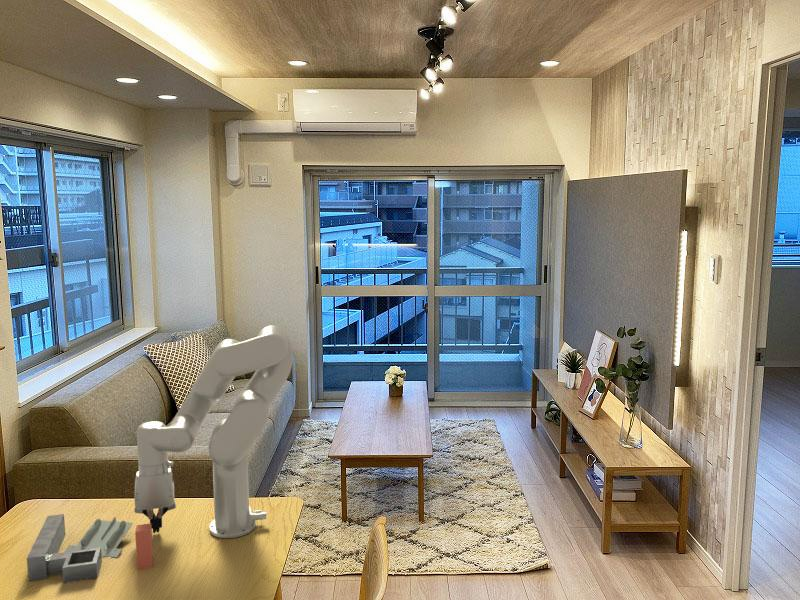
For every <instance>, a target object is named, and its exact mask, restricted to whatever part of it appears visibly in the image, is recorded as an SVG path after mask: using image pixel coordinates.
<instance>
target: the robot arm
mask: <svg viewBox="0 0 800 600" xmlns="http://www.w3.org/2000/svg"><path fill="white" fill-rule="evenodd" d="M293 350H294V349H293V345H292V342H291V340H290V337H289V336H288V334H287V333H286V331H285V330H284V329H283V328H281V327H280V326H278V325H275V324H274V325H271V324H270V325H267V326H265V327H263V328H262V329H261V330H260V331H259V332H258V333H257V335H256V337H253V338H250V339H247V340H244V341H239V340H237V339H234V338H226V339H223V340H222V341H220V342H219V343H218V344H217V346H216V347H215V348H214V350H213V352H212V353H211V354H210V357H209V358H208V360H207V361H206V363H205V365H204V367H203V368H202V369H201V371H200V372H199V373H200V374H199V375H198V377H197V378H196V380H195V381H194V383H193V384H192V386H191V388H190V392H189V393H188V395H187V396H186V398H185V399H184V401H183V403H182V404H181V406H180V408H179V410H178V411H177V412H176V414H175V416H174V418H173V420H171V423H170V425H168V426H166V424H165V423H164V422H162V421H156V420H155V421H154V420H152V421H145V422H143V423H140V425H139V426H138V427H137V429H136V440H137V441H136V442H137V460H138V461H137V465H138V471H136V473H135V480H134V512H133V513H135V514H142V515H144V516H145V517H147V519H148V520H149V524H150V523H151V527H152V534H155V533H160V528H163V516H164V515H165V514H166V513H167V512H168V511H171V510H174V509H176V508H177V503H176V501H175V499H176V498H175V497H176V495H175V494H176V491H175V483H174V482H175V481H174V480H175V479H174V475H173V471H172V468H171V467H174V465H175V464H174V461H173V460H172V461H170V459H169V456H168V452H169V453H176V454H177V453H185V452H187V451H189V450H190V449H191V448H192V447H193V445H194V443H195V440H196V437H197V434H198V431H199V429H200V428H201V425H202V424H203V423H204V421H205V419H206V417H207V416H208V414H209V413H210V411H211V410H212V409H213V407H214V406H215V405H216V404H217V403H219V402H220V401H221V400H222V399H223V398H224V396H225V395H226V393H227V392H228V389H229V387H230V386H231V384H232V382H233V381H234V380H235V378H236V377H239V376H243V375H247V374H249V373H253V372H254V373H253V375H252V376H251V378H250V379H249V381H248V382H247V384H246V385H245V386H244V388H243V389H242V390H241V391H240V393H239V394H238V395H237V397H236V398H235V399H234V403H233V407H232V410H231V412H230V413H229V415H228V416H227V417H226V418H223V419H221V420H220V421H217V422H216V424H215V426H214V427H213V429H212V432H211V435H210V439H209V440H210V441H209V444H208V455H209V458H210V459H211V461H212V484H213V485H212V486H213V506H214V520H212V521H211V522H210V523H209V532H210V534H211V535H213V537H217V538H221V539H236V538H239V537H242V536H245V535H248V534H249V533H251V532H252V531H253V530H254V529H255V528H256V521H262V520H267V512H266V511H265V512H264V511H263V512H262V509H257V510H253V509H251V505H250V493H249V492H250V488H249V487H250V485H249V456H248V455H249V454H248V453H249V450H250V449H251V447H252V446H253V444H254V443H255V441H256V440H257V439H258V437H259V436H260V434H261V433H262V432H263V430H264V428H265V426H266V425H267V423H268V420H269V415H270V408H271V405H272V403H273V402H274V400H275V399H276V397H277V396H278V394H279V392H280V391H281V389H282V388H283V387H284V385H285V383H286V382H287V379H288V378H289V376H290V374H291V370H292V367H293V360H294V352H293ZM155 509H158V511H157V513H155V512H154V510H155Z"/></svg>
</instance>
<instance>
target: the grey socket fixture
mask: <svg viewBox="0 0 800 600" xmlns="http://www.w3.org/2000/svg"><path fill="white" fill-rule="evenodd" d="M65 523H66V522H65V513H60V514H53V515H52V514H51V515H47V516H46V518H45V521H44V523H43V524H42V527H41V529H40V531H39V533H38V535H37V537H36V539H35V540H34V543H33V544H32V547H31V549H30V551H29V553H28V554H27V557H26V564H27V565H26V566H27V567H26V568H27V575H28V576H27V577H28V578H27V579H28V582H31V581H32V582H33V581H40V580H45V579H48V577H49V576H56V575H62V580H63V581H62V583H63V584H68V583H73V581H75V582H81V580H82V581H87V580H94V578H95V579H98V577H99V573H100V571H99V570H101V567H102V564H103V557H102V554H101V547H100V548H93V549H85V550H78V551H70V552H64V551H63V552H60V548H61V546H62V544H63V542H64V539H65V536H66V524H65ZM101 563H102V564H101ZM67 582H68V583H67Z"/></svg>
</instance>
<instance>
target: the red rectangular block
mask: <svg viewBox="0 0 800 600" xmlns="http://www.w3.org/2000/svg"><path fill="white" fill-rule="evenodd" d="M135 526H136V528H135V532H134V536H135V537H134V538H135V549H136V550H135V551H136V567H137V570H140V569H141V568H142V569H146V568H147V567H149V568H153V565H154V564H153V563H154V546H153V545H154V544H153V529H152V527H151V523H150V522H149V523H144V524H137V525H135Z"/></svg>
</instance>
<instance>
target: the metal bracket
mask: <svg viewBox="0 0 800 600" xmlns="http://www.w3.org/2000/svg"><path fill="white" fill-rule="evenodd" d="M116 519H117V518H116V517H113V518H112V520H101V519H100V518H96V519H95V520H94V522H93V523H92V524H91V526H90V527H89V529H88V530H87V531H86V532H85V533H84V535H83V536H82V538H81V539H80V540H79V541H78V543H77V544H76V545H75V544H69V545H68V546H67V547H66V548H65V549H64V551H63V552H70V551H78V550H85V549H93V548H100V547H101V554H102V556H103V557H102V558H104V557H111V558H110V559H112V558H115V559H118V558H119V557H120V554H121V553H122V551H123V549H122V548H118V547H119V545H120V543H121V542H122V541H123V539H124V537H125V536H126V535H127V533H128V532H129V530H130V529H131V527H132V526H133V522H130V521H125V520H121V521H117V520H116ZM117 557H118V558H117Z"/></svg>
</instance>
